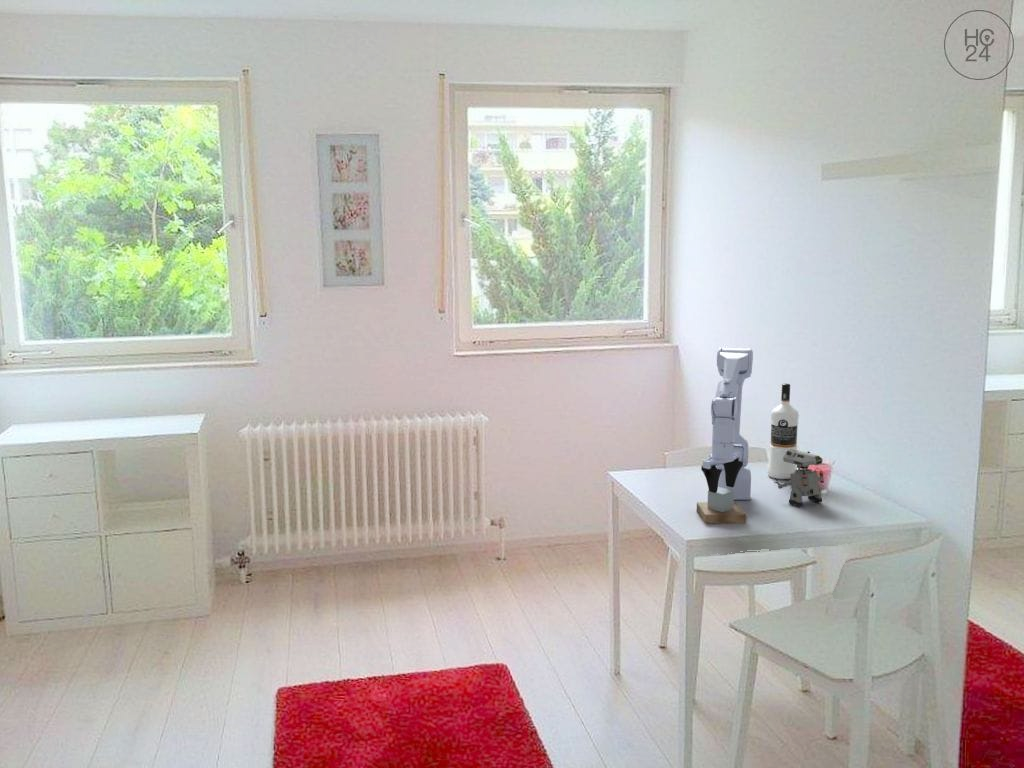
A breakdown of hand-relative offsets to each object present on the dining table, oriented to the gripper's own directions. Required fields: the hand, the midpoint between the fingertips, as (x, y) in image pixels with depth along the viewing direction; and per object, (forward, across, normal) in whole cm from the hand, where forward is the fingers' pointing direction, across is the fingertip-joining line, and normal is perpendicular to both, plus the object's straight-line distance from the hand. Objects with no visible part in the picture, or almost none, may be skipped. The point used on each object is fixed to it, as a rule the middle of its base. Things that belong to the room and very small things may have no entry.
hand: (721, 489), depth 253 cm
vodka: (+8, -48, -12) cm, 50 cm away
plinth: (+8, 0, 0) cm, 8 cm away
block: (+5, 0, 0) cm, 5 cm away
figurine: (+8, -28, +7) cm, 30 cm away
